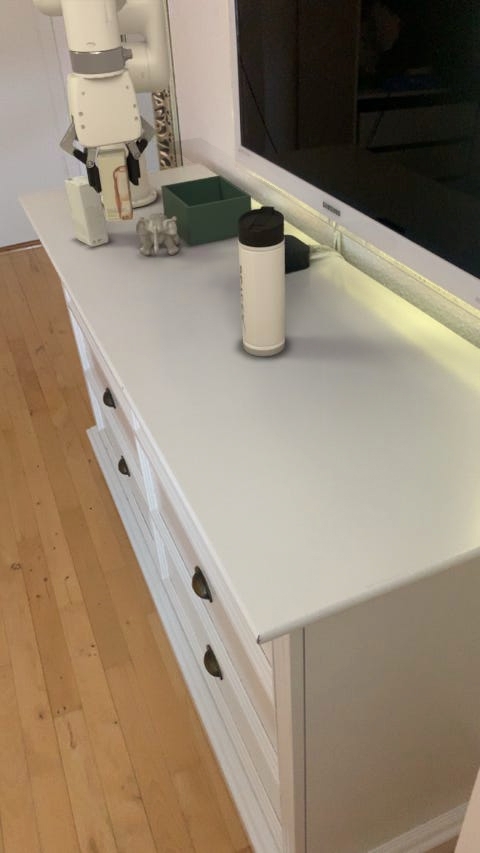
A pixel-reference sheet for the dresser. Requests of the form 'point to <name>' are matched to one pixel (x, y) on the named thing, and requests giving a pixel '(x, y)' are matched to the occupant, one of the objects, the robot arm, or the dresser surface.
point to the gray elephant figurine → (158, 233)
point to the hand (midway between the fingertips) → (115, 185)
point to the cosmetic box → (86, 211)
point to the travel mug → (262, 280)
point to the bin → (205, 208)
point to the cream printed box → (115, 184)
